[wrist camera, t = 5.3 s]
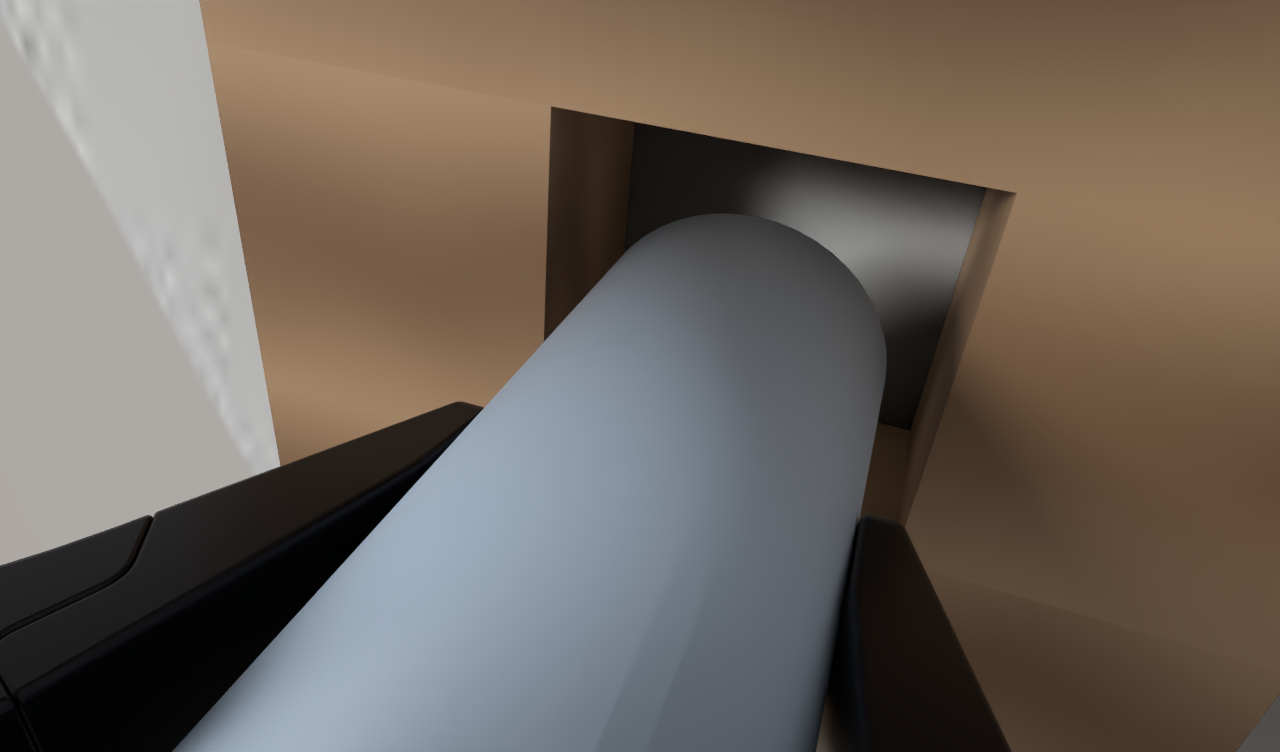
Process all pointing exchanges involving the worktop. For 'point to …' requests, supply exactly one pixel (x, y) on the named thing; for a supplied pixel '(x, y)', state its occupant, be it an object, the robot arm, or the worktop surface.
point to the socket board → (976, 319)
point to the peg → (611, 530)
